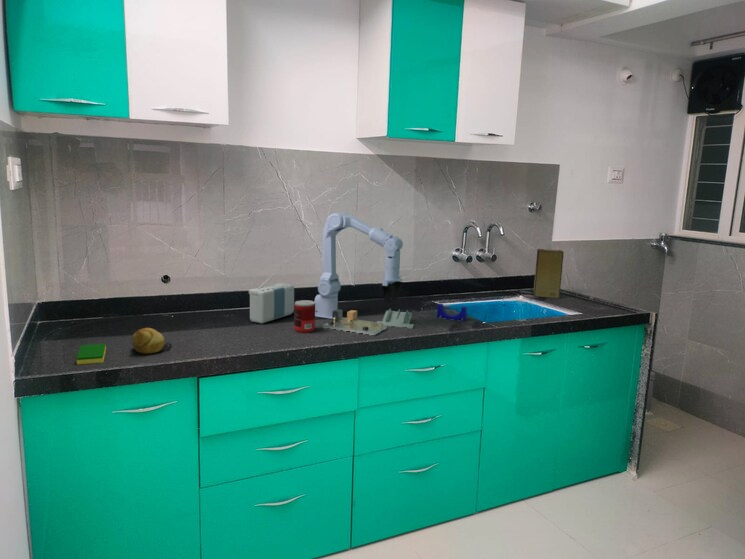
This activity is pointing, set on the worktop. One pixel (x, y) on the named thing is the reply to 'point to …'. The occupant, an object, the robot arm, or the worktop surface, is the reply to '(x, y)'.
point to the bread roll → (148, 341)
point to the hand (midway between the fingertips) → (390, 300)
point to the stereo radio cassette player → (271, 302)
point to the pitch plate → (353, 324)
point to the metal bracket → (397, 319)
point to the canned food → (304, 316)
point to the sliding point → (351, 315)
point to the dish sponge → (91, 354)
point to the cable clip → (456, 317)
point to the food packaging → (548, 273)
